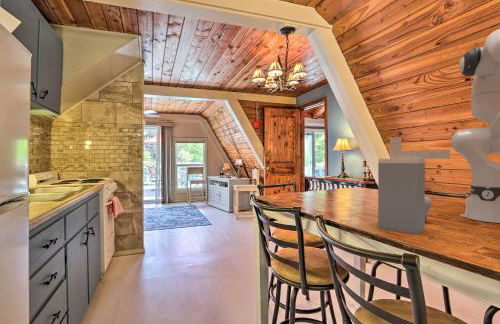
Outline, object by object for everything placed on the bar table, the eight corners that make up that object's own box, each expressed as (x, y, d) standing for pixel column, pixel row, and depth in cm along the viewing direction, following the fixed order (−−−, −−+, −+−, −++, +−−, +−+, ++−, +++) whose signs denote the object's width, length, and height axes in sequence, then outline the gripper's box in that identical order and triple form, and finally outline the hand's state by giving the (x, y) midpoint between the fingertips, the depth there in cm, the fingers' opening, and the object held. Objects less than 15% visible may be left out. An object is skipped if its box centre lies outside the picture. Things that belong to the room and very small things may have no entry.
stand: (387, 223, 110) (387, 158, 110) (424, 229, 101) (424, 158, 101) (378, 227, 103) (378, 158, 103) (417, 234, 94) (417, 158, 94)
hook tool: (392, 158, 105) (392, 138, 105) (449, 158, 93) (449, 135, 93) (389, 158, 103) (389, 137, 103) (448, 158, 91) (448, 134, 91)
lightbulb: (434, 224, 108) (434, 196, 108) (417, 223, 110) (417, 196, 109) (428, 220, 114) (428, 194, 114) (411, 220, 115) (412, 194, 115)
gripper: (520, 86, 85) (492, 124, 94) (502, 102, 74) (472, 144, 83) (546, 94, 81) (514, 133, 90) (530, 112, 71) (496, 154, 79)
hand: (494, 138), depth 86 cm, fingers open, 8 cm apart
